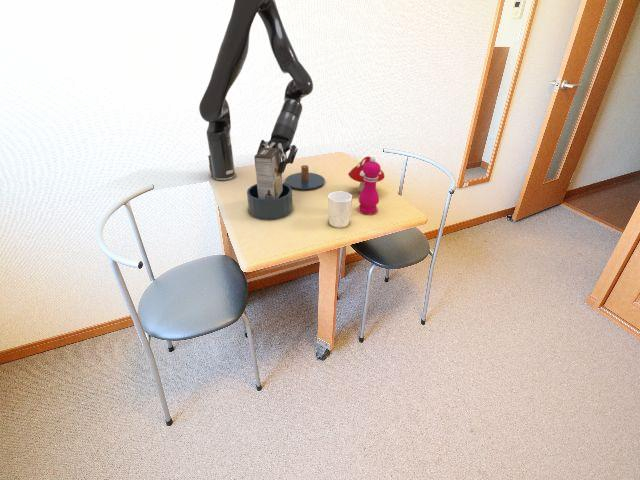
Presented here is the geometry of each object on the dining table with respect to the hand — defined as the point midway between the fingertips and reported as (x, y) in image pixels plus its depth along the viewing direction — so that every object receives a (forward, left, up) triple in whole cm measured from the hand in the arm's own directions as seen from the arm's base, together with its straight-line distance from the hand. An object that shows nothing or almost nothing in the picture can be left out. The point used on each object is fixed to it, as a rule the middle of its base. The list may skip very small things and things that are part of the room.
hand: (270, 171), depth 122 cm
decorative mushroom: (+26, +28, -15) cm, 41 cm away
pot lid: (0, +26, -14) cm, 29 cm away
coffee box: (0, -1, -9) cm, 9 cm away
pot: (0, -1, -14) cm, 14 cm away
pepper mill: (+32, +14, -15) cm, 38 cm away
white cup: (+26, +1, -15) cm, 30 cm away
